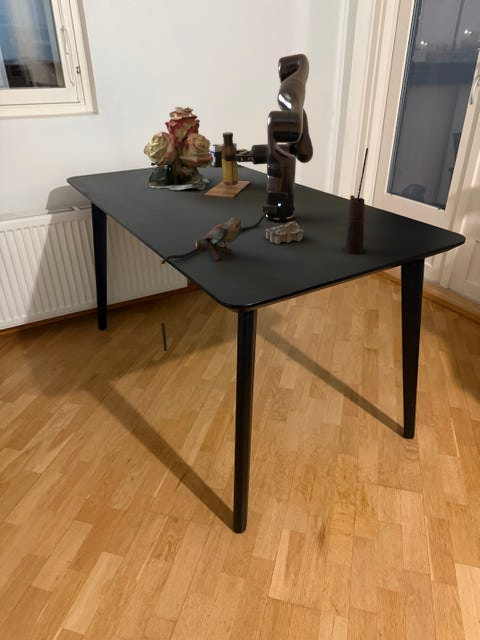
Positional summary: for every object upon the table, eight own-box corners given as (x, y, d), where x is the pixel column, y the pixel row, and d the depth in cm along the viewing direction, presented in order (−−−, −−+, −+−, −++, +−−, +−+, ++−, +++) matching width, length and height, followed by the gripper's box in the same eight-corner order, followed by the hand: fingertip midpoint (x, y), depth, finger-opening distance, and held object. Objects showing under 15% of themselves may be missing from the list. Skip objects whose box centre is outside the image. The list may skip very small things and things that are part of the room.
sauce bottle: (235, 181, 194) (234, 131, 184) (240, 185, 189) (239, 133, 179) (220, 183, 192) (218, 132, 182) (225, 186, 187) (223, 134, 177)
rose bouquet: (141, 190, 190) (132, 110, 175) (172, 174, 214) (167, 102, 199) (198, 195, 183) (194, 112, 168) (224, 178, 207) (223, 104, 191)
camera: (227, 160, 239) (226, 140, 234) (237, 163, 233) (237, 142, 228) (205, 164, 231) (204, 143, 226) (215, 167, 226) (215, 145, 221)
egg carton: (296, 233, 144) (297, 220, 142) (305, 241, 138) (306, 228, 136) (263, 236, 142) (263, 223, 140) (271, 244, 135) (272, 231, 133)
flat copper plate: (233, 197, 179) (233, 196, 179) (204, 195, 182) (204, 194, 182) (250, 182, 199) (250, 181, 199) (223, 181, 202) (223, 179, 202)
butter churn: (330, 243, 136) (340, 143, 122) (362, 242, 136) (375, 142, 122) (338, 255, 128) (349, 149, 114) (372, 254, 129) (387, 148, 114)
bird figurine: (179, 245, 133) (196, 193, 117) (208, 239, 138) (228, 188, 123) (202, 281, 129) (223, 232, 113) (230, 273, 134) (254, 224, 118)
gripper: (268, 167, 183) (227, 170, 180) (259, 160, 196) (220, 162, 192) (269, 147, 180) (227, 150, 177) (259, 141, 192) (219, 143, 189)
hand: (223, 156), depth 184 cm, fingers closed on sauce bottle, 6 cm apart
